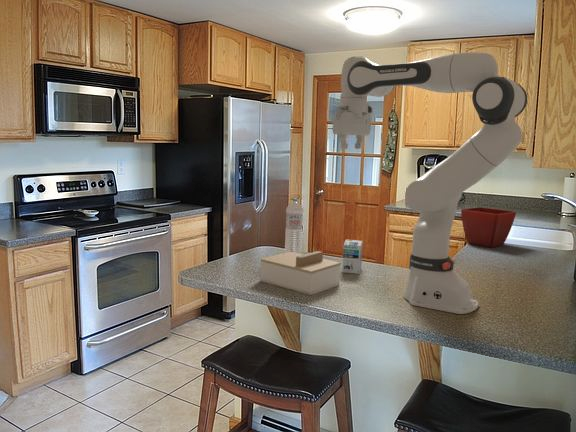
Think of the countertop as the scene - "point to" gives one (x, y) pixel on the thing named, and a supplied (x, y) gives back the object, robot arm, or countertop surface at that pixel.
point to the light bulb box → (352, 256)
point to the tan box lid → (302, 261)
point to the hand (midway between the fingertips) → (351, 148)
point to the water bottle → (294, 227)
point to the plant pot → (487, 225)
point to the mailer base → (300, 278)
